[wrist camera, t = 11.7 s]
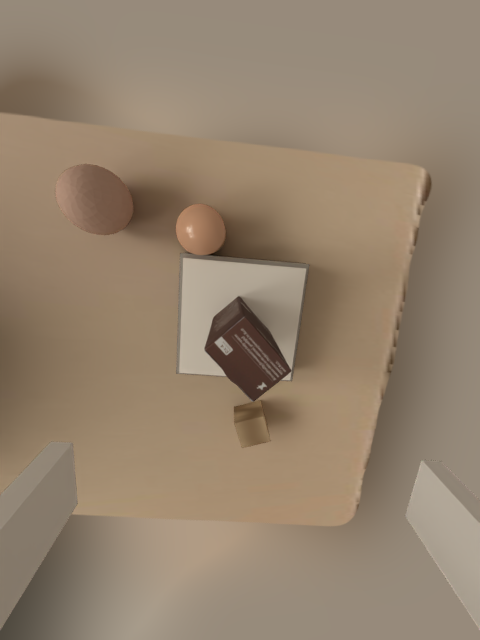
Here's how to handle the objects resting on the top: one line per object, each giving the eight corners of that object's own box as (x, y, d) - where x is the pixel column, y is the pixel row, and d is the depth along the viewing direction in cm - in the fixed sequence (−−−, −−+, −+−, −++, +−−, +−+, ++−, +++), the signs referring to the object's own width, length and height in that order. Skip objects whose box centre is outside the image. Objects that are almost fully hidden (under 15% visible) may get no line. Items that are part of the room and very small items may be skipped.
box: (272, 329, 32) (294, 373, 21) (243, 352, 33) (249, 407, 21) (240, 291, 31) (245, 315, 20) (211, 316, 32) (198, 353, 20)
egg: (139, 242, 33) (105, 239, 25) (84, 229, 33) (30, 221, 24) (146, 185, 32) (113, 160, 23) (89, 171, 31) (33, 140, 23)
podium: (180, 363, 38) (175, 376, 34) (184, 252, 34) (178, 252, 30) (287, 370, 38) (293, 384, 34) (302, 263, 35) (311, 264, 31)
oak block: (240, 429, 41) (241, 448, 37) (234, 406, 40) (234, 423, 36) (266, 423, 40) (270, 441, 37) (260, 400, 39) (263, 416, 36)
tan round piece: (184, 252, 34) (175, 253, 28) (186, 210, 33) (176, 201, 27) (224, 256, 34) (223, 257, 28) (227, 214, 33) (226, 206, 27)
